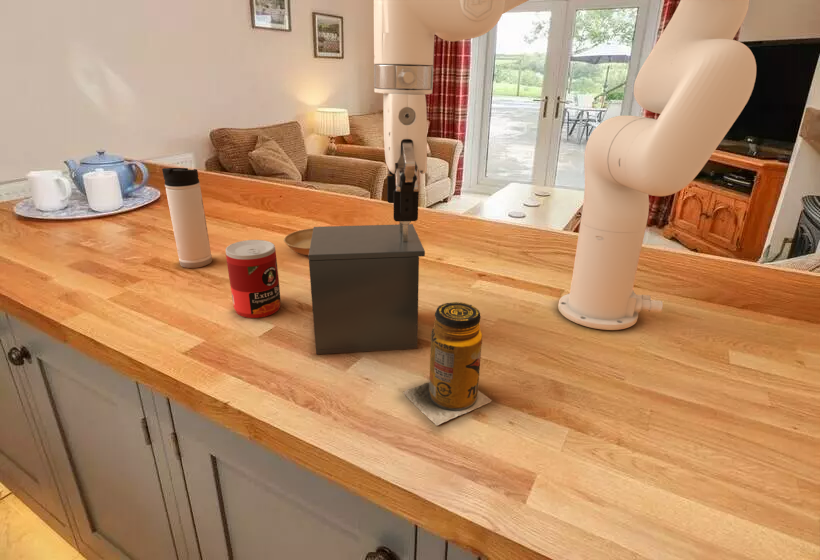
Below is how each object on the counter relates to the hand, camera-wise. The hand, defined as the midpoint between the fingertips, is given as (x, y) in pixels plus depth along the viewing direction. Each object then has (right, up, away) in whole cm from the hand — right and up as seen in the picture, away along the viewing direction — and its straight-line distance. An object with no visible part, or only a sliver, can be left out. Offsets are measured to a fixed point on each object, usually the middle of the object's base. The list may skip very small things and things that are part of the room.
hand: (401, 211), depth 70 cm
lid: (-5, -5, +1) cm, 7 cm away
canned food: (-25, -15, +14) cm, 32 cm away
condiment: (+6, -25, -9) cm, 27 cm away
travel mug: (-43, -6, +33) cm, 55 cm away
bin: (-6, -18, +7) cm, 20 cm away
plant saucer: (-20, -3, +42) cm, 46 cm away
